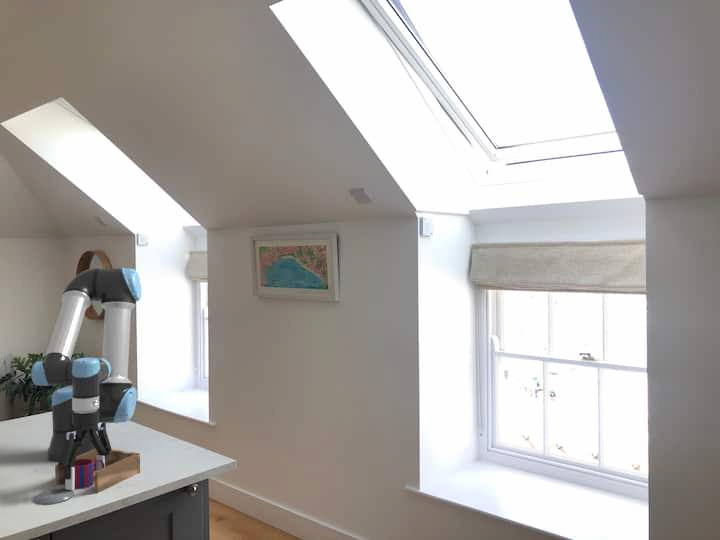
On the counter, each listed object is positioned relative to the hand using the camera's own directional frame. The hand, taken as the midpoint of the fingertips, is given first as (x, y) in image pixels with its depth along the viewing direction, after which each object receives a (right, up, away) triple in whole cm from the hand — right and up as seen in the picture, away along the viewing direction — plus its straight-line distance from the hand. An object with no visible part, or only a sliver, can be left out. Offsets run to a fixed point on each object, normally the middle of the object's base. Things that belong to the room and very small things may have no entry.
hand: (85, 482), depth 192 cm
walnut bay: (+2, 0, +5) cm, 5 cm away
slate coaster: (-5, -1, -9) cm, 10 cm away
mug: (0, -1, +1) cm, 1 cm away
